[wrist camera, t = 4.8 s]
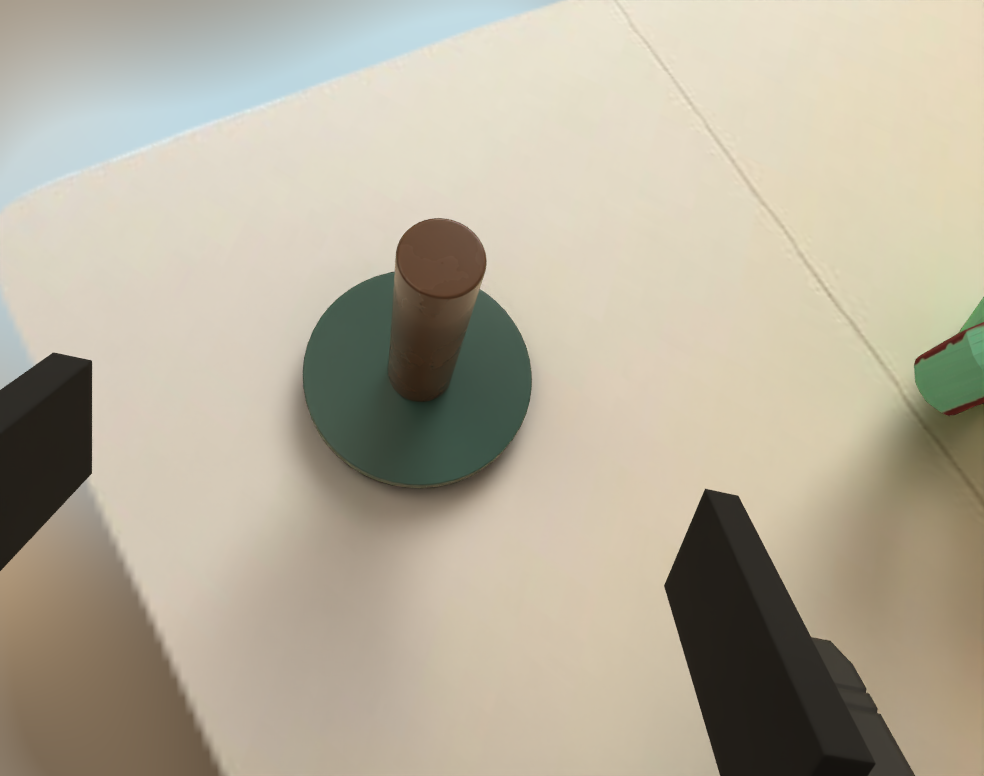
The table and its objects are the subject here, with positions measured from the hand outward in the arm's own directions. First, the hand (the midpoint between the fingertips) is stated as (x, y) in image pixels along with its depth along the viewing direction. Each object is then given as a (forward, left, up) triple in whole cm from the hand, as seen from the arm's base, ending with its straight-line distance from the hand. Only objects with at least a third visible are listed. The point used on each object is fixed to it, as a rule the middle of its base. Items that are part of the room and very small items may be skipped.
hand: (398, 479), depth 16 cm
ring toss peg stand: (+2, +6, -11) cm, 13 cm away
